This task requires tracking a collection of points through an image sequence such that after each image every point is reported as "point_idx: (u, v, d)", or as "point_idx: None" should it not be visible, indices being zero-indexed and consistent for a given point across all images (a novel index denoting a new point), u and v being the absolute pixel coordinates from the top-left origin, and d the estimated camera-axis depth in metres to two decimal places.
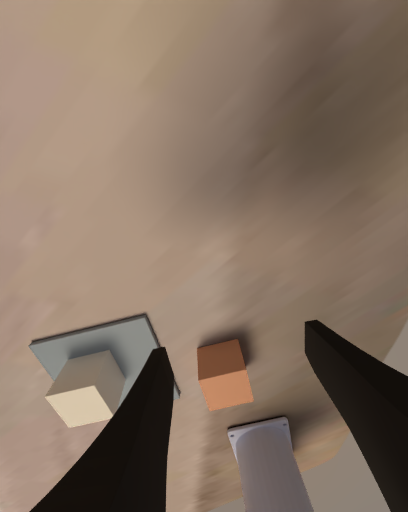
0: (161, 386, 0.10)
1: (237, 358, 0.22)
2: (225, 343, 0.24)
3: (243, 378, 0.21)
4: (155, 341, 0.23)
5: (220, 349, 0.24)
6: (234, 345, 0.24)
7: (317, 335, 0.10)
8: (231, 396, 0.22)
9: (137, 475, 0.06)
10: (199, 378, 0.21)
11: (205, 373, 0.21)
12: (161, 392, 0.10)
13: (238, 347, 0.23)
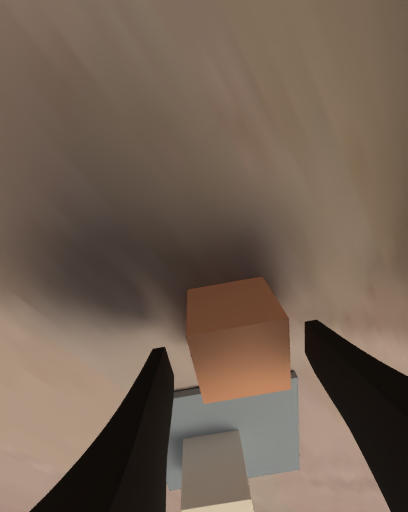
0: (161, 386, 0.10)
1: None
2: None
3: (210, 339, 0.10)
4: (175, 396, 0.16)
5: None
6: None
7: (317, 335, 0.10)
8: (260, 357, 0.11)
9: (137, 475, 0.06)
10: (203, 399, 0.12)
11: None
12: (161, 392, 0.10)
13: None
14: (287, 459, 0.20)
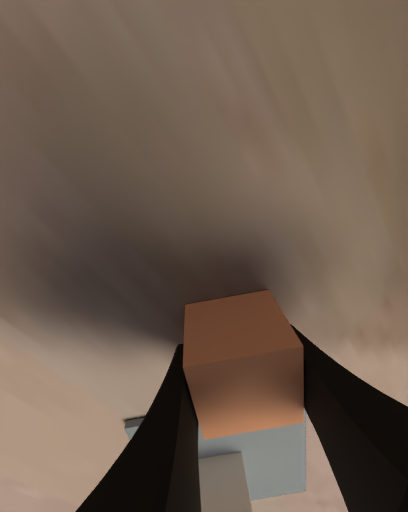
0: None
1: None
2: None
3: (211, 370, 0.09)
4: None
5: None
6: None
7: None
8: (269, 389, 0.09)
9: (181, 467, 0.06)
10: None
11: None
12: None
13: None
14: (293, 481, 0.19)
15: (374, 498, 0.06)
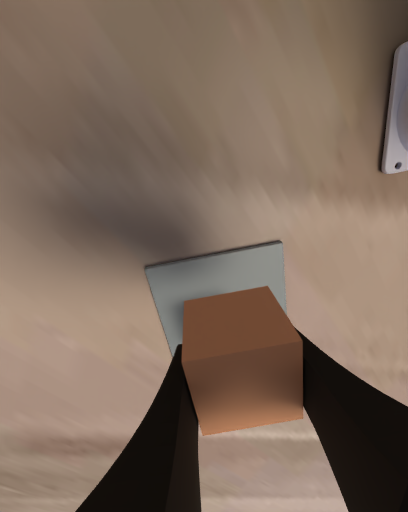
0: None
1: None
2: None
3: (210, 365, 0.08)
4: (181, 262, 0.20)
5: None
6: None
7: None
8: (268, 384, 0.09)
9: (181, 467, 0.06)
10: None
11: None
12: None
13: None
14: None
15: (374, 498, 0.06)
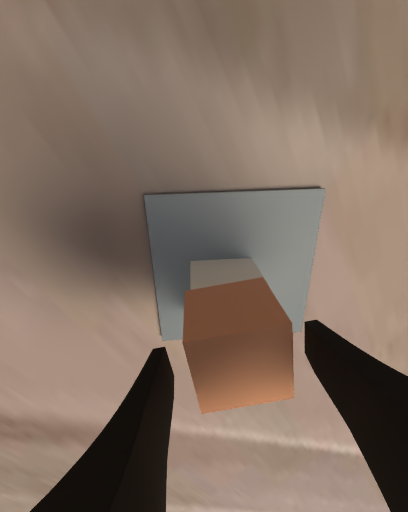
0: (161, 386, 0.10)
1: None
2: None
3: (208, 346, 0.09)
4: (193, 193, 0.15)
5: None
6: None
7: (317, 335, 0.10)
8: (261, 365, 0.10)
9: (137, 475, 0.06)
10: None
11: None
12: (161, 392, 0.10)
13: None
14: (292, 314, 0.19)
15: None
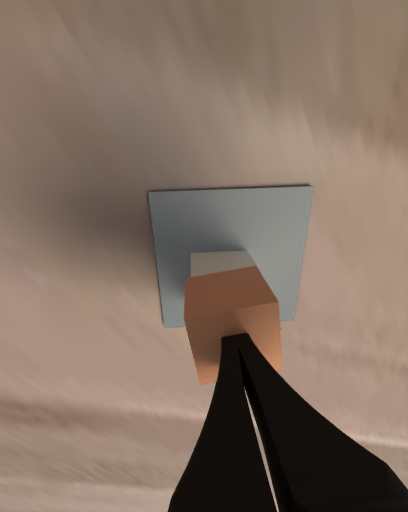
0: None
1: None
2: None
3: (206, 321, 0.11)
4: (193, 190, 0.16)
5: None
6: None
7: (239, 349, 0.10)
8: (253, 339, 0.11)
9: None
10: None
11: None
12: None
13: None
14: (285, 303, 0.20)
15: None
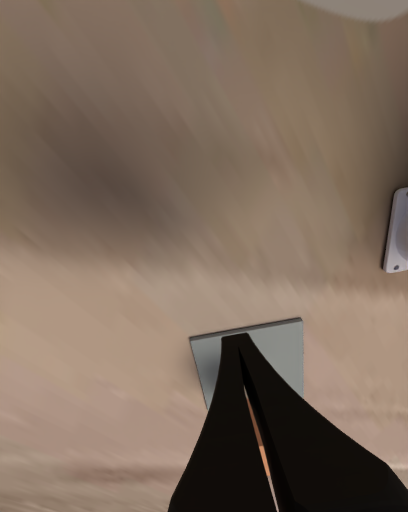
0: None
1: None
2: None
3: None
4: (220, 335, 0.24)
5: None
6: None
7: (239, 349, 0.10)
8: None
9: None
10: None
11: None
12: (242, 378, 0.10)
13: None
14: (295, 388, 0.28)
15: None
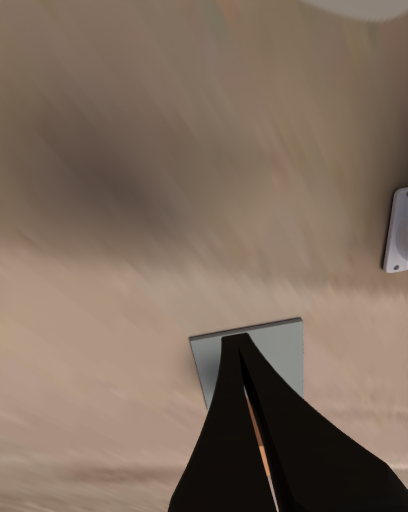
0: None
1: None
2: None
3: None
4: (220, 335, 0.24)
5: None
6: None
7: (239, 349, 0.10)
8: None
9: None
10: None
11: None
12: (242, 378, 0.10)
13: None
14: (295, 388, 0.28)
15: None
